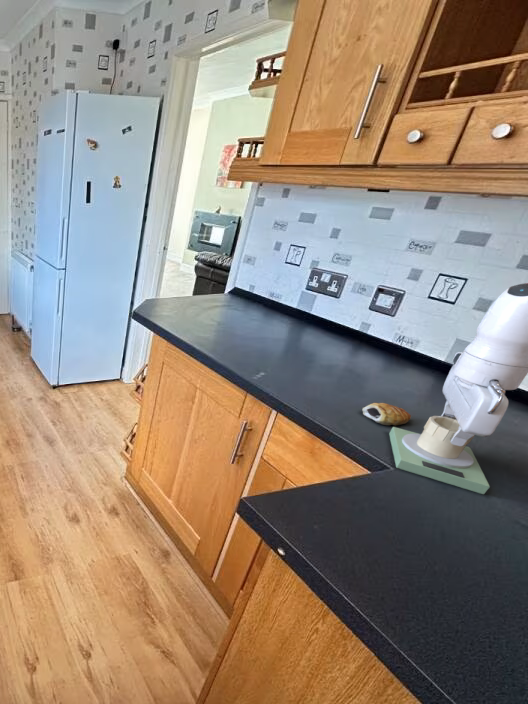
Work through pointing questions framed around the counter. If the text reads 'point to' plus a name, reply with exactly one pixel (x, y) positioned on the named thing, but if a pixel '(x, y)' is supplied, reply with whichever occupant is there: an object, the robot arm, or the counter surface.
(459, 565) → the counter surface
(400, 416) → the pastry
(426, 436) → the cream hollow cylinder
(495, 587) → the counter surface
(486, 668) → the counter surface
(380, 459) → the counter surface
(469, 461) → the scale
